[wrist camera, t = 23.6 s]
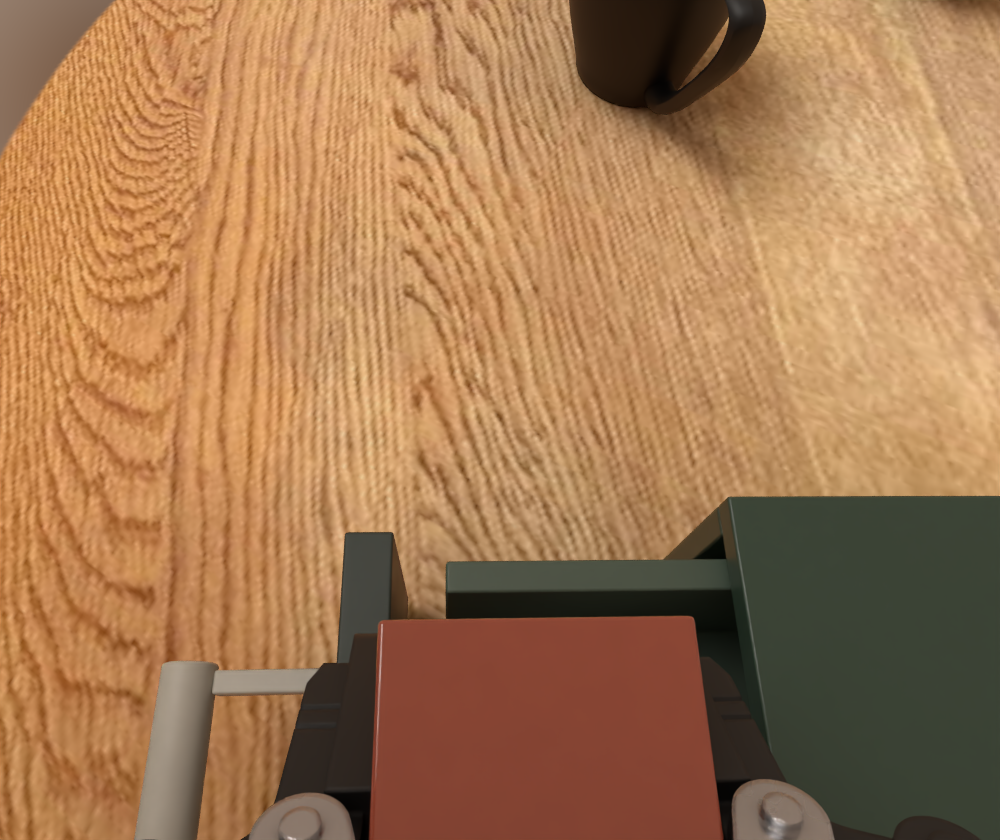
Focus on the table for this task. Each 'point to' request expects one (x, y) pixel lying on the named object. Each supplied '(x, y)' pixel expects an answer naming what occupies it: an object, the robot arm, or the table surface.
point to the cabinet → (871, 649)
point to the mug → (660, 47)
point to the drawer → (382, 596)
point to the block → (541, 731)
